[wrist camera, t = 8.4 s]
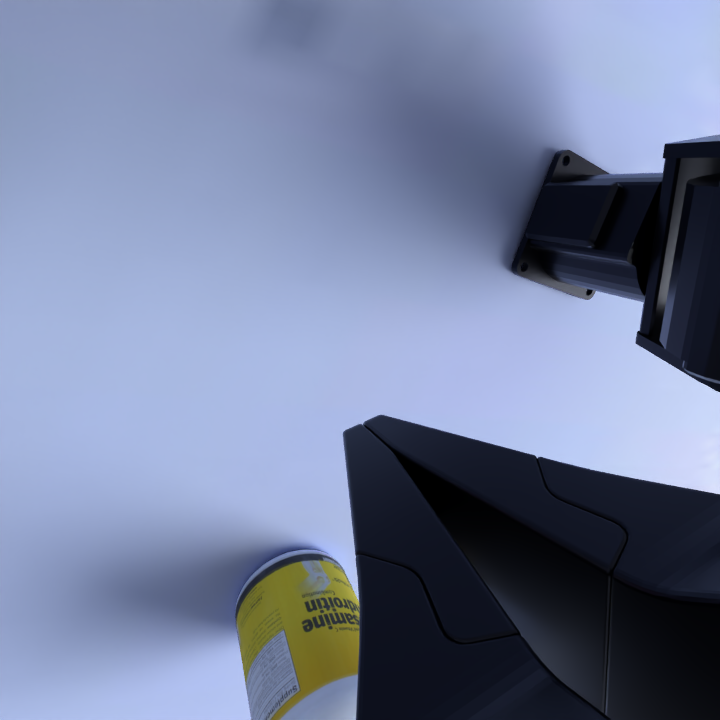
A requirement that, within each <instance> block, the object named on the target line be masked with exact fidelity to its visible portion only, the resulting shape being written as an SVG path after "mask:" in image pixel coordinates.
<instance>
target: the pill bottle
mask: <svg viewBox="0 0 720 720" xmlns="http://www.w3.org/2000/svg"><path fill="white" fill-rule="evenodd" d="M359 611H360V606H359V601H358V599H357V597H356V595H355V593H354V591H353V589H352V586H351V584H350V582H349V580H348V578H347V576H346V574H345V572H344V570H343V568H342V567H341V565H340V564H339V562H338V561H337V560H336V559H334V558H333V557H332V556H330V555H328V554H327V553H324V552H321V551H317V550H296V551H292V552H288V553H285V554H282V555H280V556H277V557H275V558H273V559H272V560H270V561H268V562H267V563H265V564H264V565H263V566H261V567H260V568H259V569H258V570H257V571H256V572H254V573H253V575H252V576H251V577H250V578H249V579H248V580H247V582H246V583H245V585H244V586H243V588H242V590H241V592H240V594H239V596H238V599H237V603H236V610H235V618H236V627H237V633H238V639H239V645H240V651H241V657H242V663H243V670H244V676H245V682H246V689H247V695H248V701H249V707H250V714H251V720H356V704H357V682H358V660H359Z"/></svg>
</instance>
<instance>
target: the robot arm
mask: <svg viewBox="0 0 720 720" xmlns="http://www.w3.org/2000/svg"><path fill="white" fill-rule="evenodd" d="M563 158H564V162H563V163H562V161H563ZM663 158H665V164H664V171H663V173H638V174H609V173H607V172H606V171H604V170H602V169H601V168H599V167H597V166H595V165H594V164H592V163H590V162H589V161H587V160H585V159H584V158H582V157H580V156H579V155H577V154H575V153H574V152H572V151H570V150H561V151H558V152H557V153H556V154H555V156H554V158H553V160H552V163H551V165H550V168H549V171H548V173H547V176H546V178H545V181H544V184H543V186H542V189H541V191H540V194H539V197H538V199H537V202H536V204H535V207H534V209H533V212H532V215H531V217H530V220H529V222H528V225H527V228H526V230H525V233H524V235H523V238H522V241H521V243H520V246H519V248H518V251H517V254H516V256H515V259H514V261H513V264H512V271H513V273H514V274H515V275H517V276H520V277H523V278H526V279H528V280H531V281H534V282H537V283H539V284H542V285H545V286H548V287H551V288H553V289H556V290H559V291H562V292H565V293H567V294H570V295H573V296H576V297H578V298H582V299H585V300H589V299H591V298H592V297H593V295H594V294H595V291H599V292H603V293H608V294H612V295H616V296H620V297H624V298H629V299H633V300H637V301H641V302H644V304H643V311H642V318H641V324H640V331H638V332H637V337H636V344H638V345H639V346H641V347H643V348H644V349H646V350H648V351H649V352H651V353H652V354H654V355H656V356H657V357H659V358H661V359H662V360H664V361H666V362H667V363H669V364H671V365H672V366H674V367H676V368H677V369H679V370H681V371H682V372H684V373H686V374H687V375H689V376H691V377H692V378H694V379H696V380H697V381H699V382H701V383H703V384H705V385H707V386H709V387H711V388H712V389H714V390H716V391H718V392H720V135H715V136H709V137H703V138H697V139H691V140H685V141H679V142H673V143H667V144H665V147H664V153H663ZM522 264H523V267H522V269H521V265H522ZM343 440H344V450H345V459H346V469H347V478H348V488H349V497H350V507H351V516H352V526H353V535H354V545H355V554H356V567H357V576H358V591H359V606H360V611H359V660H358V682H357V704H356V720H720V494H714V493H709V492H704V491H698V490H693V489H688V488H682V487H677V486H671V485H666V484H661V483H655V482H650V481H645V480H639V479H634V478H629V477H624V476H619V475H614V474H609V473H605V472H600V471H595V470H590V469H586V468H582V467H578V466H574V465H570V464H566V463H562V462H558V461H554V460H550V459H547V458H543V457H538V458H536V456H535V455H531V454H527V453H524V452H520V451H516V450H512V449H509V448H505V447H501V446H497V445H494V444H490V443H486V442H482V441H479V440H475V439H471V438H467V437H464V436H460V435H456V434H452V433H449V432H445V431H441V430H437V429H434V428H430V427H426V426H422V425H419V424H415V423H411V422H407V421H404V420H400V419H396V418H392V417H389V416H385V415H378V416H376V417H374V418H372V419H369V420H367V421H365V422H364V423H363V425H362V424H358V425H356V426H354V427H352V428H349V429H347V430H345V431H344V432H343Z"/></svg>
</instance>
